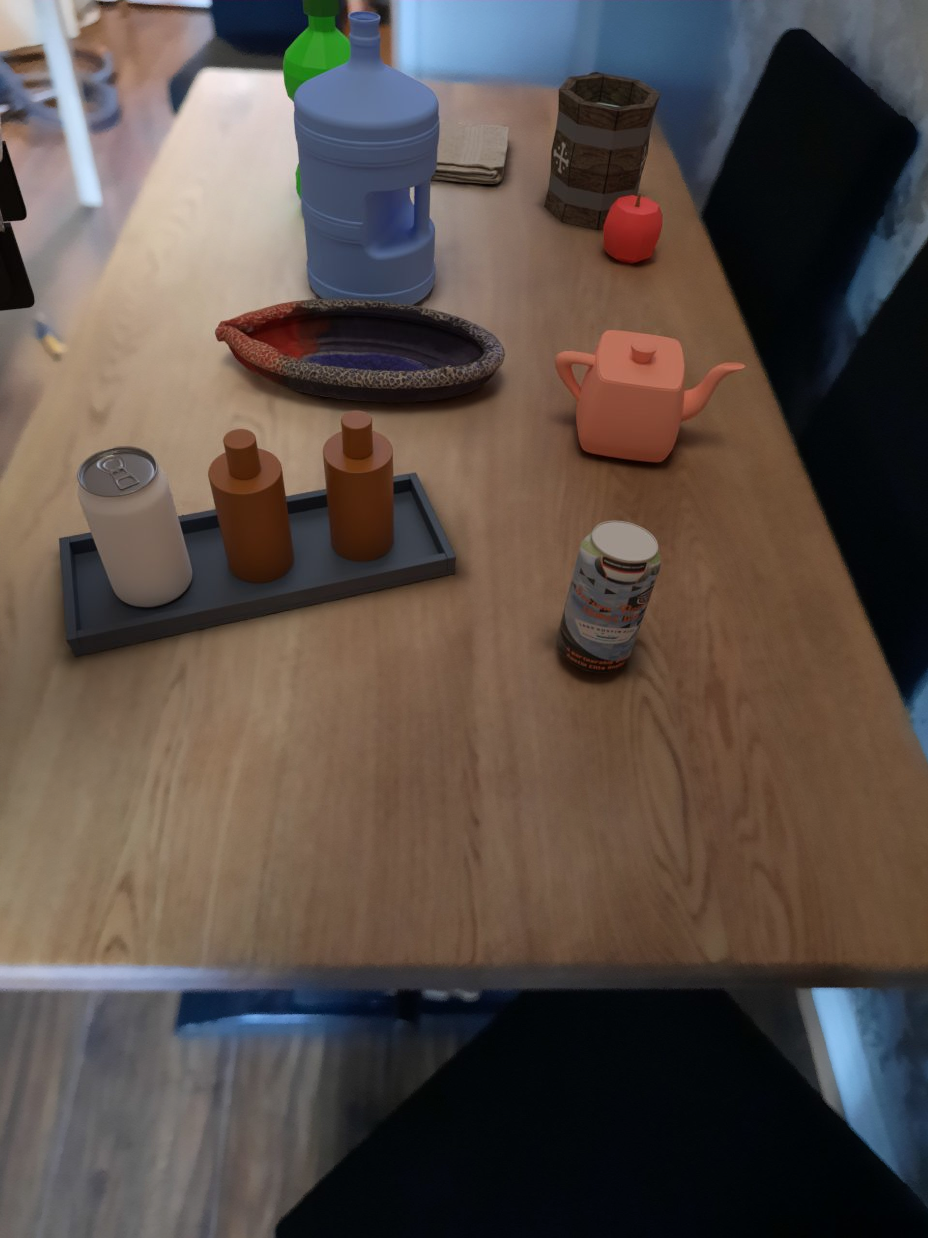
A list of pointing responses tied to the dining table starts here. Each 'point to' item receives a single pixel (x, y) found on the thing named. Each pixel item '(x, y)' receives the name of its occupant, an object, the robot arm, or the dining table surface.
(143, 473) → the can
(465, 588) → the dining table surface
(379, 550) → the amber bottle
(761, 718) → the dining table surface
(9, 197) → the robot arm
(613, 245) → the apple
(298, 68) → the plastic bottle
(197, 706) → the dining table surface
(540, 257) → the dining table surface
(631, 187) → the mug
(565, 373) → the teapot
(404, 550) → the tray
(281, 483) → the amber bottle
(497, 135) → the washcloth
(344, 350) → the dish
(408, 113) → the water jug
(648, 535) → the beverage can
